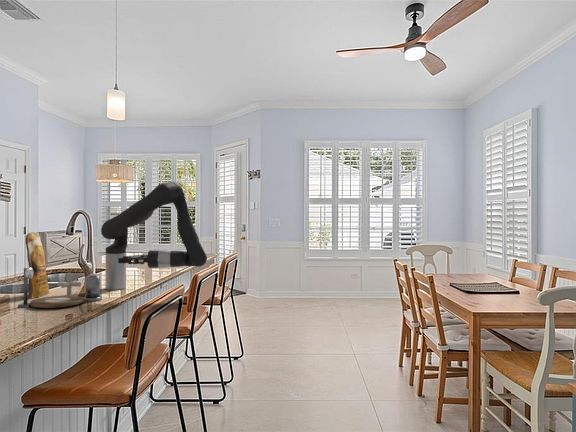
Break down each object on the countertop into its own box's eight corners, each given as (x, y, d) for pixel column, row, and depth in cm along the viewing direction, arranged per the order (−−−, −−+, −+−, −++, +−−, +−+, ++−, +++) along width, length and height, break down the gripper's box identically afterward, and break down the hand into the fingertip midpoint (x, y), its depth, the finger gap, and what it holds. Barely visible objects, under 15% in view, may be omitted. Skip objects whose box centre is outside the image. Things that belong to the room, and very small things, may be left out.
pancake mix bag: (19, 299, 189) (19, 233, 189) (37, 291, 208) (38, 231, 208) (36, 299, 190) (36, 233, 190) (53, 291, 209) (53, 231, 209)
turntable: (41, 300, 187) (41, 295, 187) (89, 299, 190) (89, 295, 190) (21, 310, 168) (21, 305, 168) (75, 309, 171) (75, 304, 171)
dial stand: (22, 305, 177) (22, 267, 177) (33, 305, 178) (33, 267, 178) (17, 307, 173) (17, 268, 173) (28, 307, 174) (28, 268, 173)
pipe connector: (86, 293, 204) (86, 271, 204) (73, 297, 194) (73, 274, 194) (65, 293, 205) (65, 271, 205) (51, 297, 195) (51, 274, 195)
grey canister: (86, 298, 193) (86, 273, 193) (103, 298, 194) (103, 272, 194) (81, 301, 186) (81, 275, 185) (99, 301, 187) (99, 275, 187)
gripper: (161, 249, 201) (124, 249, 198) (157, 251, 187) (116, 252, 184) (161, 266, 201) (124, 266, 198) (157, 269, 187) (116, 270, 184)
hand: (120, 259), depth 191 cm, fingers open, 8 cm apart
